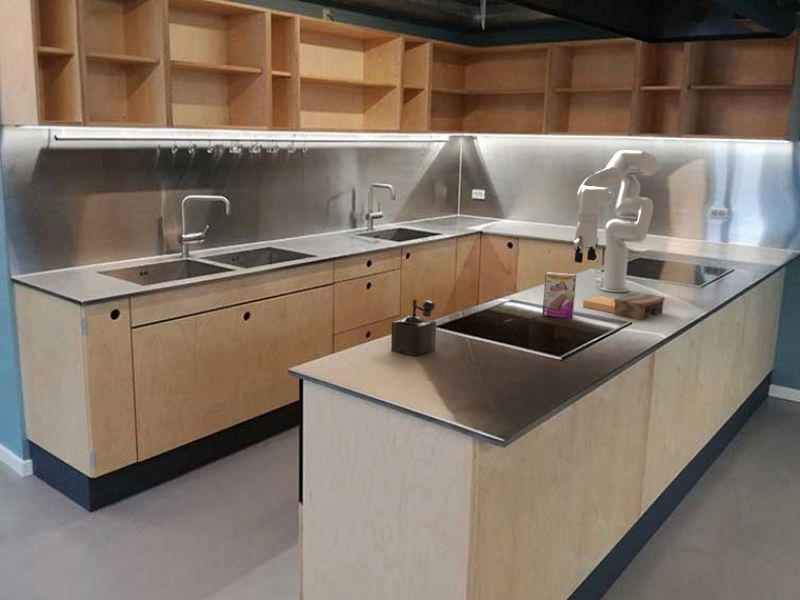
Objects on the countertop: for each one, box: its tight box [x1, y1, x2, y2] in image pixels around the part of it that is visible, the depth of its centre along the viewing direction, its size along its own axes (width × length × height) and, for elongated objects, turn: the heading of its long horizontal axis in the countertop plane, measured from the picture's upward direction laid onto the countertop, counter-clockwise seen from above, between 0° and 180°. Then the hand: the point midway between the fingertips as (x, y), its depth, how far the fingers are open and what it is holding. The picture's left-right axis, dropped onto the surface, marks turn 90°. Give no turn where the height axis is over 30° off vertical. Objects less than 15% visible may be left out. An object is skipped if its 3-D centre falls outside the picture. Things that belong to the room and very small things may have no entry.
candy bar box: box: [542, 271, 577, 320], centre depth 271 cm, size 11×5×16 cm, turn 71°
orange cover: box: [582, 295, 615, 314], centre depth 287 cm, size 14×12×3 cm
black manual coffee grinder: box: [390, 298, 437, 357], centre depth 224 cm, size 16×11×18 cm
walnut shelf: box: [613, 292, 666, 321], centre depth 277 cm, size 12×18×6 cm, turn 135°
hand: (584, 261), depth 292 cm, fingers open, 9 cm apart
